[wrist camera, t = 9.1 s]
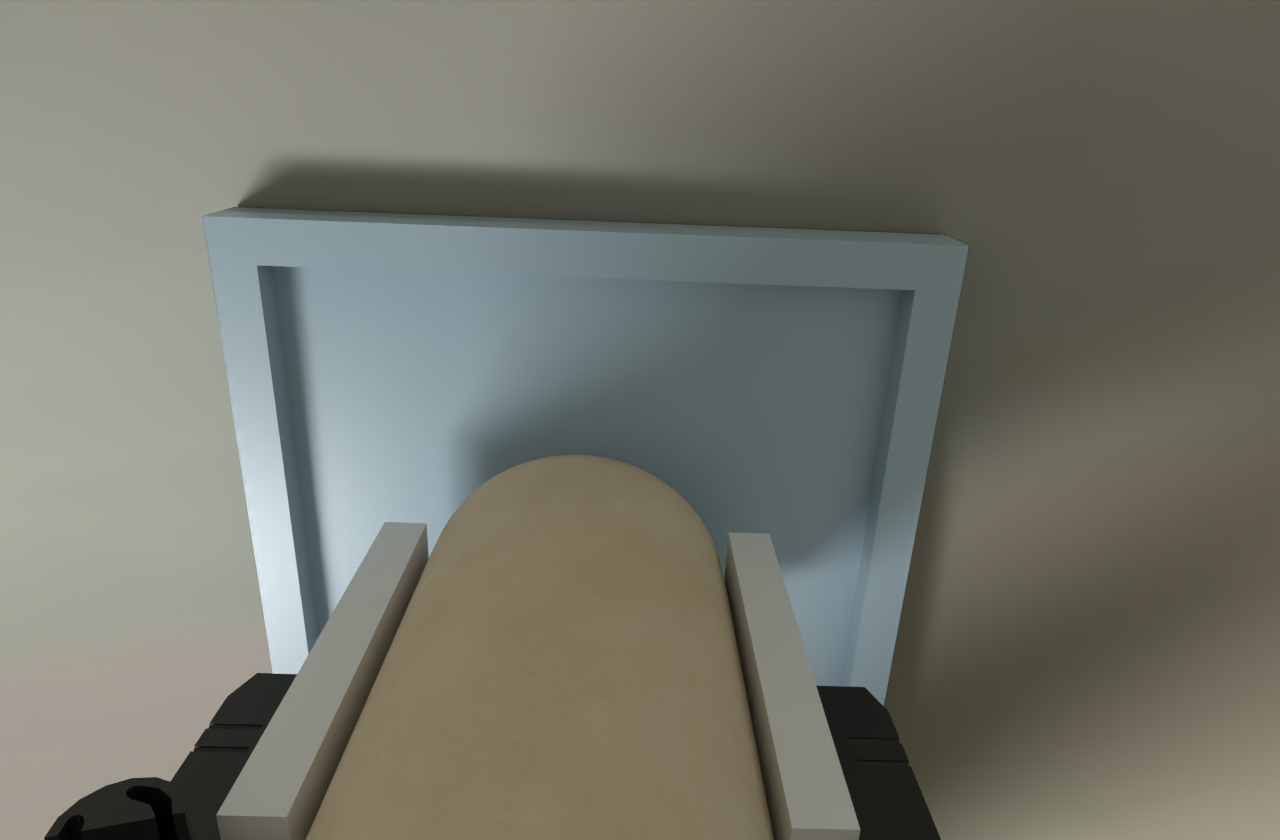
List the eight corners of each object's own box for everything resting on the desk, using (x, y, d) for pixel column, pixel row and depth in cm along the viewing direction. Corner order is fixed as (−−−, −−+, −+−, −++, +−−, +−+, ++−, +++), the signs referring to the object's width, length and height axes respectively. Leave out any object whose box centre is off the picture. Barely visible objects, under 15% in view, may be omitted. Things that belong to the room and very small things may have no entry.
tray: (311, 761, 20) (292, 801, 19) (234, 206, 15) (202, 215, 14) (850, 775, 20) (863, 815, 19) (944, 234, 15) (969, 245, 14)
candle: (661, 727, 17) (695, 1490, 8) (401, 652, 16) (93, 1396, 7) (768, 505, 15) (984, 1160, 6) (480, 408, 14) (203, 980, 5)
